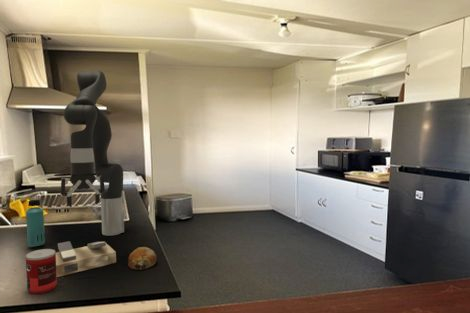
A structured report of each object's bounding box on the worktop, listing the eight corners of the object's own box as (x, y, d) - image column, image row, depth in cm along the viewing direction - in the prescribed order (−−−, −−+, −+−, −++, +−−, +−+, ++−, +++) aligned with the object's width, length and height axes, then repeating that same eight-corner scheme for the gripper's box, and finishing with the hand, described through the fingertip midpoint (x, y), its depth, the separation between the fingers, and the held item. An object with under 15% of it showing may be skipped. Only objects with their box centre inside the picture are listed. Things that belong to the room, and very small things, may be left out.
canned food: (35, 282, 102) (33, 249, 101) (61, 281, 102) (60, 248, 102) (21, 294, 94) (19, 258, 93) (49, 293, 95) (48, 257, 94)
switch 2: (98, 246, 124) (98, 241, 124) (106, 247, 116) (105, 241, 116) (87, 249, 121) (87, 243, 122) (94, 250, 114) (93, 244, 114)
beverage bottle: (37, 250, 129) (34, 202, 128) (23, 249, 130) (20, 201, 129) (49, 245, 136) (47, 198, 134) (36, 244, 137) (33, 198, 135)
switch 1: (69, 245, 118) (70, 240, 118) (76, 260, 111) (76, 255, 110) (57, 248, 116) (57, 243, 115) (62, 263, 108) (63, 258, 108)
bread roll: (159, 272, 117) (163, 250, 120) (144, 271, 108) (149, 247, 111) (136, 268, 121) (141, 247, 123) (119, 267, 112) (125, 243, 114)
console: (105, 252, 128) (105, 242, 127) (116, 262, 117) (116, 252, 117) (48, 264, 115) (47, 254, 115) (54, 278, 105) (54, 266, 104)
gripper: (102, 159, 121) (103, 201, 122) (59, 160, 114) (60, 205, 115) (105, 160, 115) (106, 205, 116) (60, 162, 108) (61, 209, 109)
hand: (83, 205), depth 116 cm, fingers open, 8 cm apart
